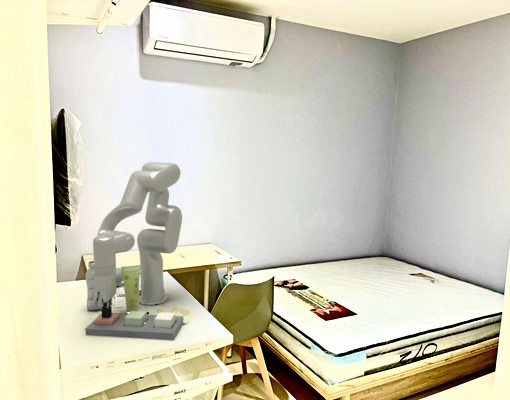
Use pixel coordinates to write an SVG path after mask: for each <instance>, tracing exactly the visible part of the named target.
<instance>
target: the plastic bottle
mask: <svg viewBox="0 0 510 400" xmlns="http://www.w3.org/2000/svg"><path fill="white" fill-rule="evenodd" d="M87 263H88V264H87V265H88V266H87V267H88V269H86V272H85V274H84V278H85V283H86V287H87V294H86V295H87V297H86V298H87V299H86V308H87V309H88V310H89V311H99V310H101V307H98V301H97V302H94V301H93V285H94V276H95V275H94V260H90V261H88V262H87ZM103 303H104V302H103Z"/></svg>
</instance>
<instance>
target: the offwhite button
mask: <svg viewBox="0 0 510 400" xmlns="http://www.w3.org/2000/svg"><path fill="white" fill-rule="evenodd" d="M156 315H157V316H156V318H155V319H154V322H155V328H170V329H171V328H172V327H173V325H174V323H175V316H176V313H175V312H162V311H159V313H158V314H156Z"/></svg>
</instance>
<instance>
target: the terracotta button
mask: <svg viewBox="0 0 510 400" xmlns="http://www.w3.org/2000/svg"><path fill="white" fill-rule="evenodd" d="M113 313H114V312H112V316H111V317H110V318H102V313H100V314H101V315H100V314H99V315H100V316H99V315H98V316H99V317H98V316H97V317H98V318H97V317H96V318H97V319H96V318H95V319H96V325H113V324H114V323H115V322H116V321H117V320H118V319H119V316H118V314H113Z"/></svg>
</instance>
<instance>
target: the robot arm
mask: <svg viewBox="0 0 510 400" xmlns="http://www.w3.org/2000/svg"><path fill="white" fill-rule="evenodd" d="M180 177H181V168H180V166H179V165H178V164H176V163H174V162H173V163H172V162H160V161H159V162H158V161H157V162H156V161H153V162H152V161H151V162H146V163H144V164H143V165H142V168H141V170H135V171H134V172H132V173H131V175H130V177H129V178H128V179H129V180H128V182H127V184H126V187H125V190H124V192H123V194H122V195H123V196H122V198H121V201H120V203H119V204H118V205H117V206H115V207H114V208H113V209H112V210H111V211H110V212H109V213H108V214H106V216H105V217H104V218H103V219H102V222H101V224H100V226H99V228H98V232H97V234H96V235H97V236H95V237H94V238H93V240H92V247H93V249H92V252H93V261H94V275H95V276H94V285H93V301H94V302H97V301H98V307H101V309H100V310H101V314H102V318H110V317H111V316H112V313H113V310H112V307H113V306H112V305H113V298H114V296H115V295H116V294H117V291H118V290H117V288H118V287H116V275H115V273H116V268H117V263H116V262H117V260H116V259H117V257H116V256H117V254H120V253H121V254H122V253H127V252H130V251H131V250H132V249H133V247H134V246H135V243H136V242H137V243H136V244H137V248H138V252H139V265H141V268H140V294H139V304H140V303H141V304H140V305H142V304H147V305H146V306H156V305H155V304H158V305H162V304H164V303H165V302H166V301H167V300H168V295H167V294H166V293H164V292H165V291H164V259H163V256H162V254H172V253H174V252H176V250H177V249H178V245H179V240H180V236H181V233H180V232H181V229H182V224H183V213H182V210H181V208H180V207H178V206H176V205H173V204H171V205H170V204H169V199H170V190H169V189H168V188H170V187H172V186H173V185H175V184H176V183H177V182H178V181H179V180H180ZM147 196H148V201H147V206H146V209H145V210H146V211H145V223H146V224H148V225H149V226H152V227H153V226H154V227H161V228H164V229H158V228H157V229H156V228H144V229H142V230H141V231H139V232H138V234H137V236H136V240H135V237H134V235H133V234H132V233H130V232H126V231H118V230H115V229H116V227H117V226H118V225H119V224H120V223H121V222H122V221H124V220H125V219H127V218H130V217H132V216H135V215H137V214H139V213H140V212H142V209H143V207H144V204H145V201H146V199H147ZM161 253H162V254H161ZM103 302H104V303H103Z"/></svg>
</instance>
